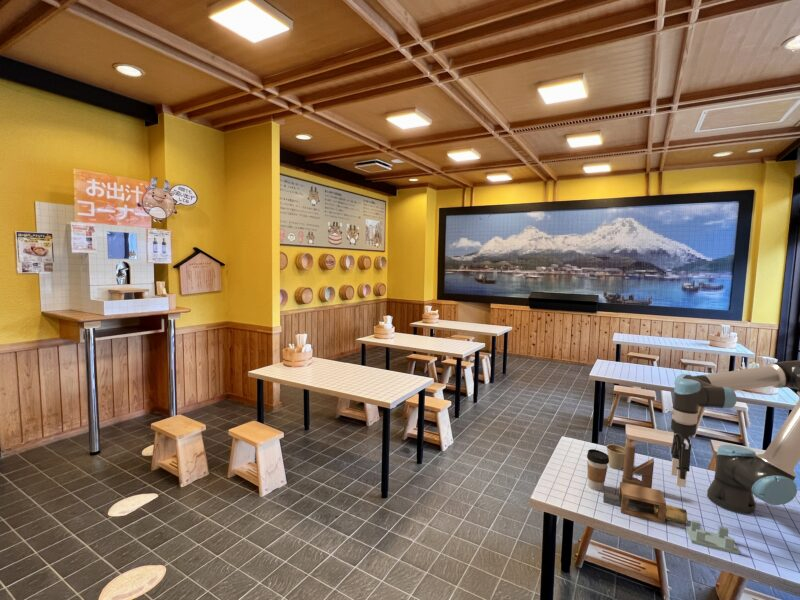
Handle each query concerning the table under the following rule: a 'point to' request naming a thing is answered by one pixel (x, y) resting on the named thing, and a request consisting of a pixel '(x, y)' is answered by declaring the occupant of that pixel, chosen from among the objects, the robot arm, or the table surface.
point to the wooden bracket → (637, 469)
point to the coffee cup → (597, 469)
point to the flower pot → (616, 456)
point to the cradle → (711, 538)
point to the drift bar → (631, 503)
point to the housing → (642, 500)
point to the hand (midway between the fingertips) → (677, 480)
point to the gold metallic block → (673, 513)
